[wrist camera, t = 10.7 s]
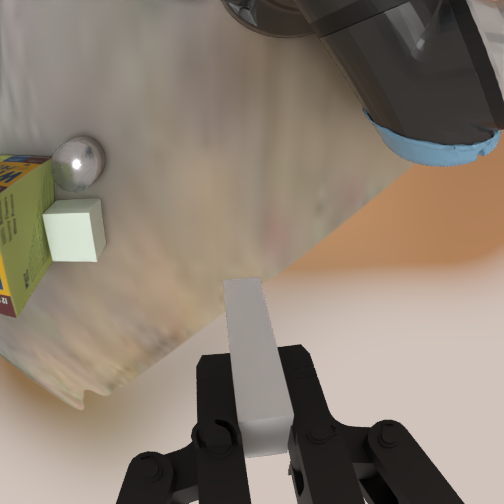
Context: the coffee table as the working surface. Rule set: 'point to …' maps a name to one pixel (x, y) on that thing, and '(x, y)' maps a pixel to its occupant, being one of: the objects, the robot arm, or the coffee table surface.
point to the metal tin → (77, 163)
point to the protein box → (23, 228)
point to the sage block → (75, 230)
